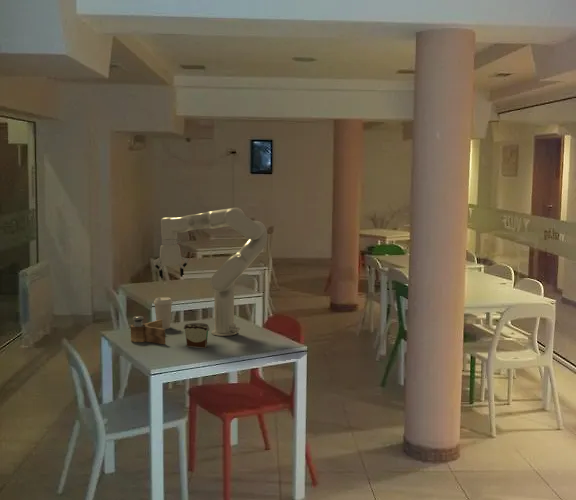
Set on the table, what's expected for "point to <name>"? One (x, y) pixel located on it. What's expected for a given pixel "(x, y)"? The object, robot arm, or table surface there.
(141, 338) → the hinge
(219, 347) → the table surface
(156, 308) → the coffee cup
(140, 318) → the pin
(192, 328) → the food container
